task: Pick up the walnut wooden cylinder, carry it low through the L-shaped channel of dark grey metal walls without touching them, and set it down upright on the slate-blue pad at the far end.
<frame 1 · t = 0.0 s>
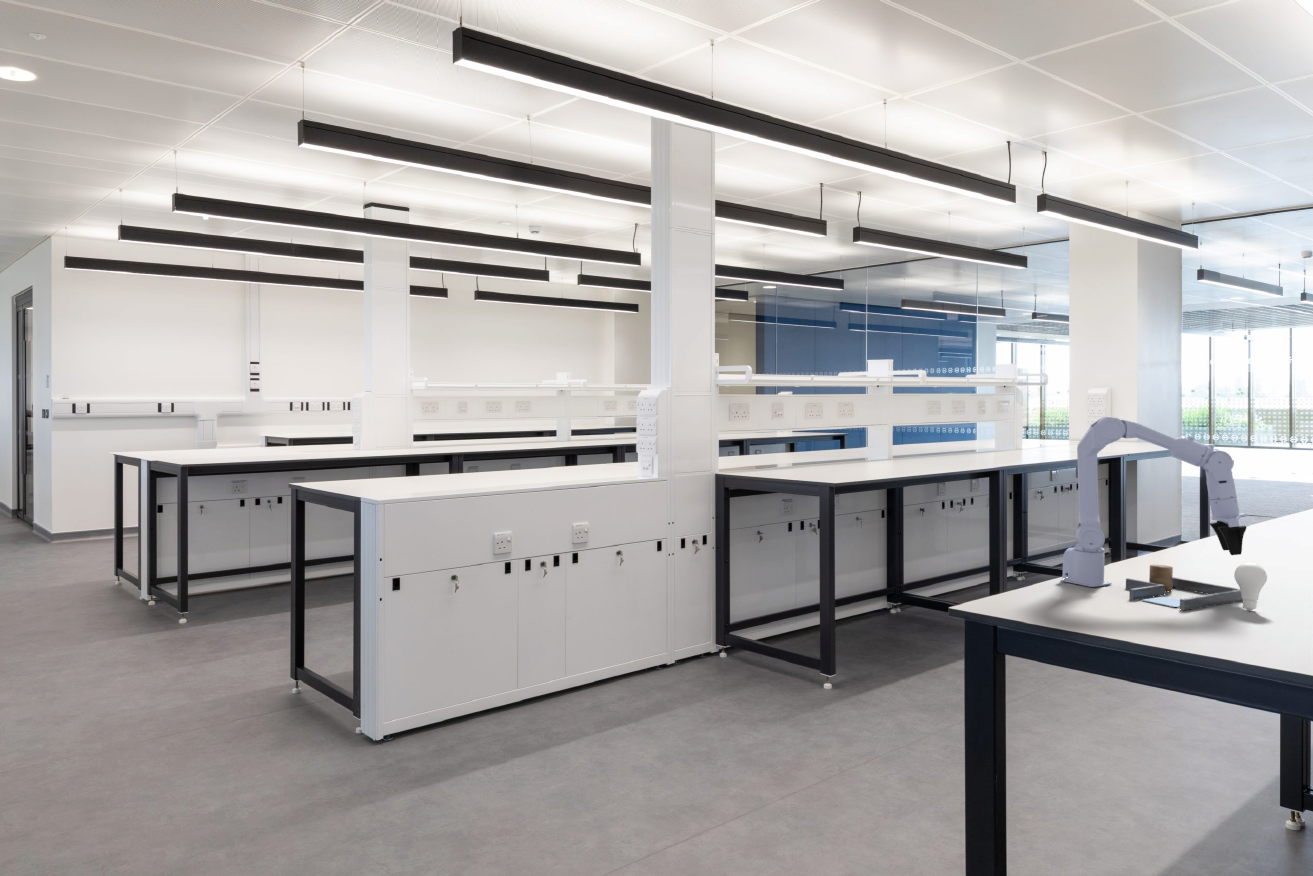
hand: (1232, 552, 210), 11 cm above the lab bench, tool pointing down, fingers open, 7 cm apart
guide walls: (1167, 596, 208), on the lab bench
lightbulb: (1249, 611, 194), on the lab bench
walnut cylinder: (1160, 589, 216), on the lab bench
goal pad: (1168, 602, 201), on the lab bench
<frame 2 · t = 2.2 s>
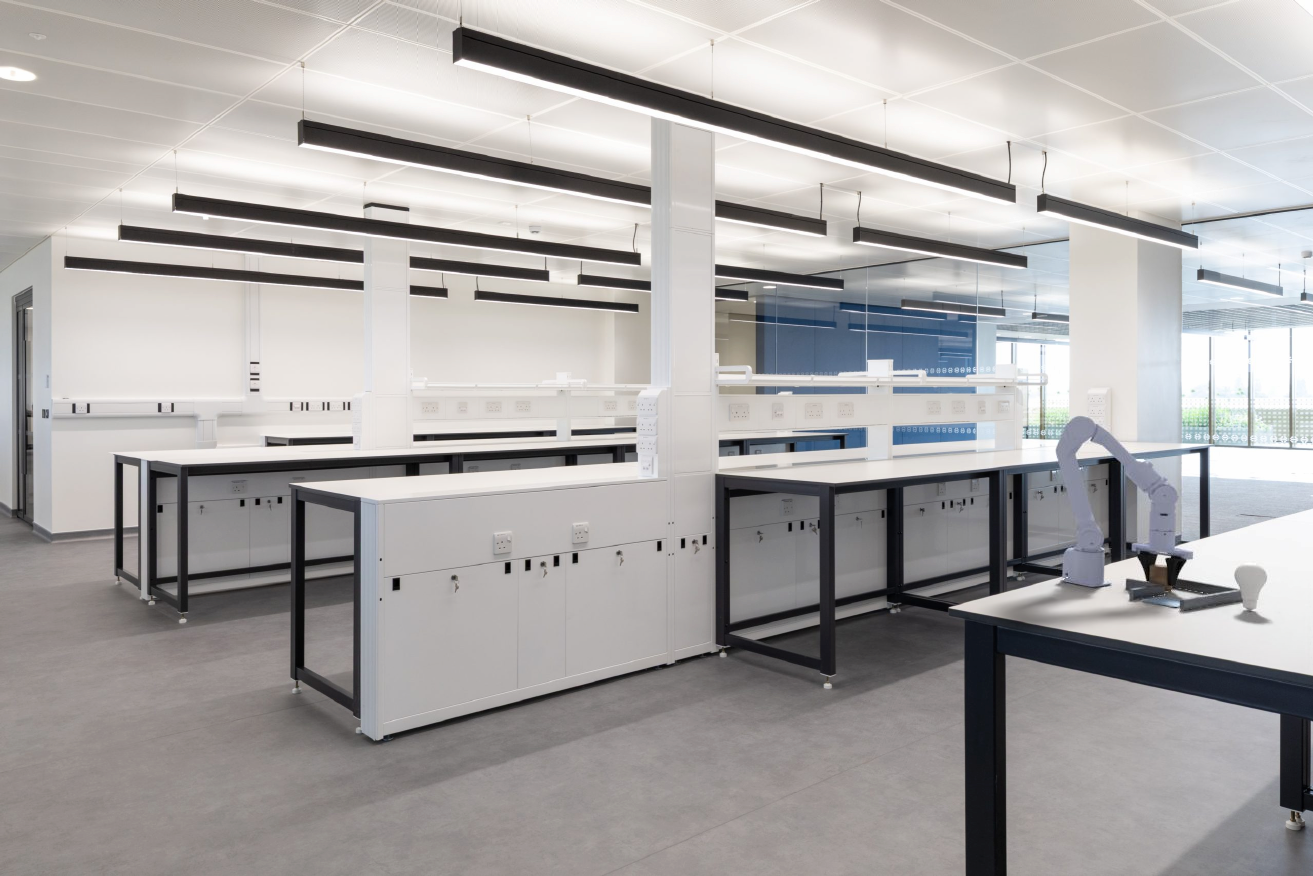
hand: (1160, 583, 216), 2 cm above the lab bench, tool pointing down, fingers closed on walnut cylinder, 5 cm apart
walnut cylinder: (1160, 589, 216), on the lab bench, touching gripper
everything else where it was.
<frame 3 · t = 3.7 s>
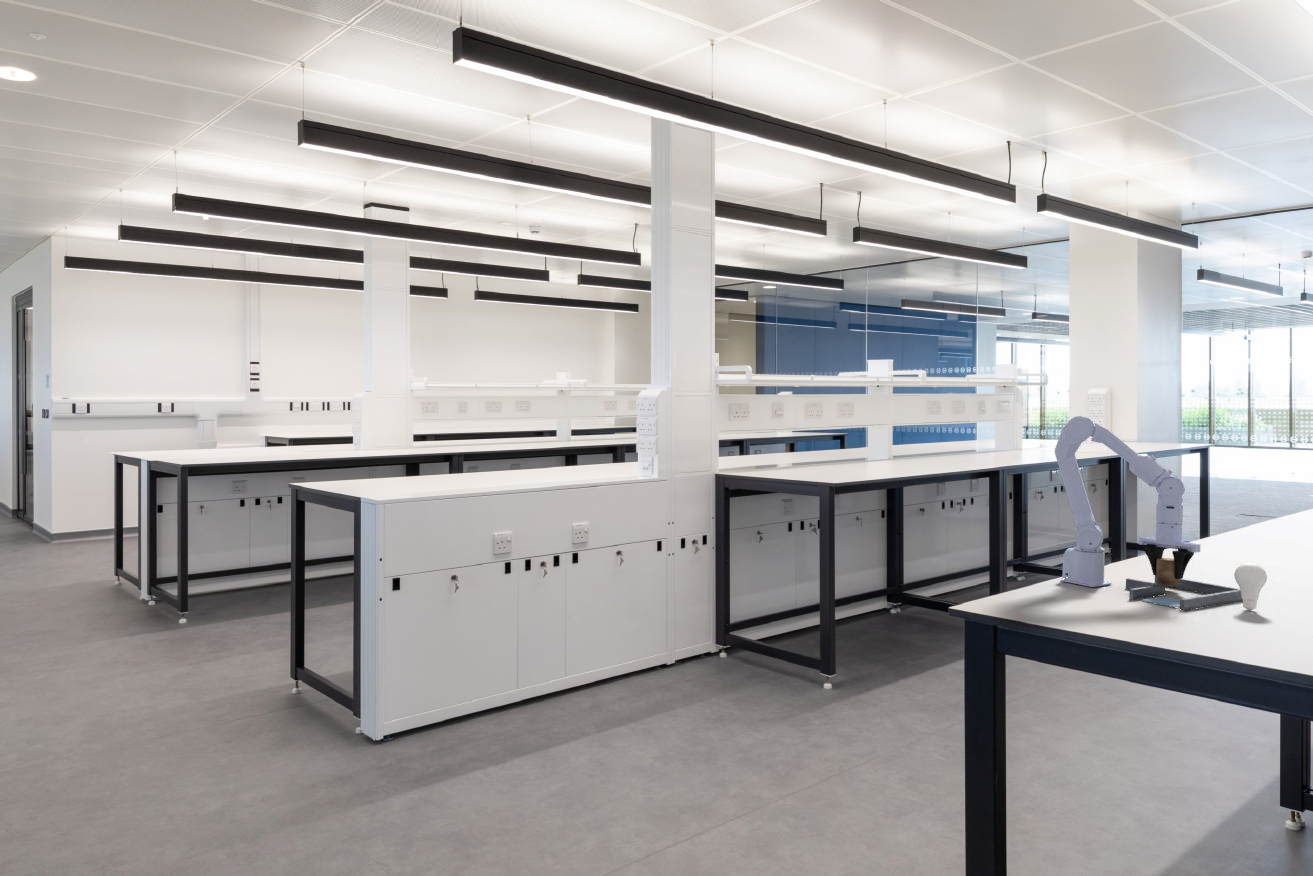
hand: (1167, 576, 214), 4 cm above the lab bench, tool pointing down, fingers closed on walnut cylinder, 5 cm apart
walnut cylinder: (1167, 583, 214), point 2 cm above the lab bench, touching gripper
everything else where it was.
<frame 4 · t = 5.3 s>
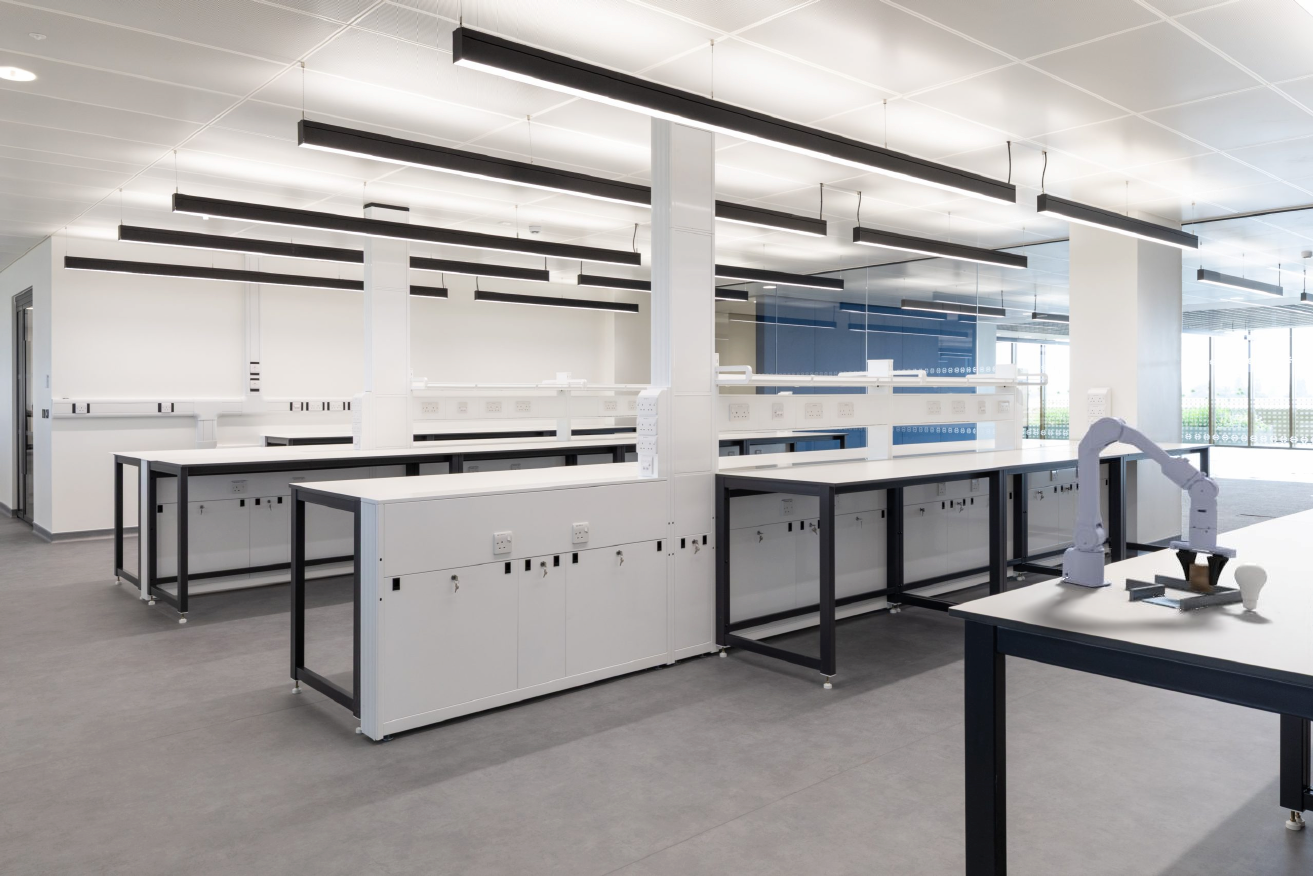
hand: (1201, 582, 207), 4 cm above the lab bench, tool pointing down, fingers closed on walnut cylinder, 5 cm apart
walnut cylinder: (1201, 589, 207), point 2 cm above the lab bench, touching gripper
everything else where it was.
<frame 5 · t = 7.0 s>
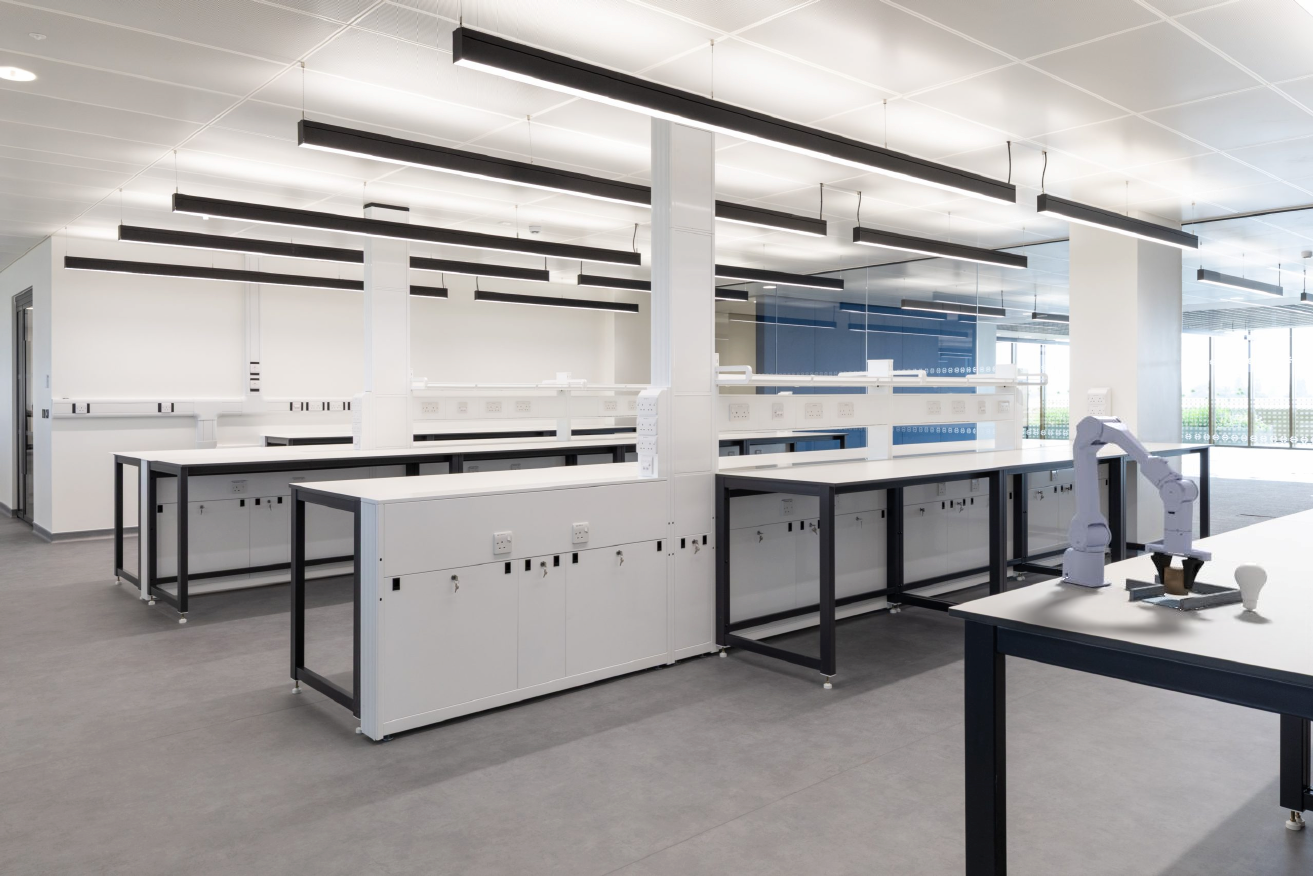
hand: (1176, 586, 202), 4 cm above the lab bench, tool pointing down, fingers closed on walnut cylinder, 5 cm apart
walnut cylinder: (1176, 593, 202), point 2 cm above the lab bench, touching gripper
everything else where it was.
when the fingers open (2 cm above the lab bench, at t = 8.6 s): walnut cylinder stays where it is, resting on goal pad.
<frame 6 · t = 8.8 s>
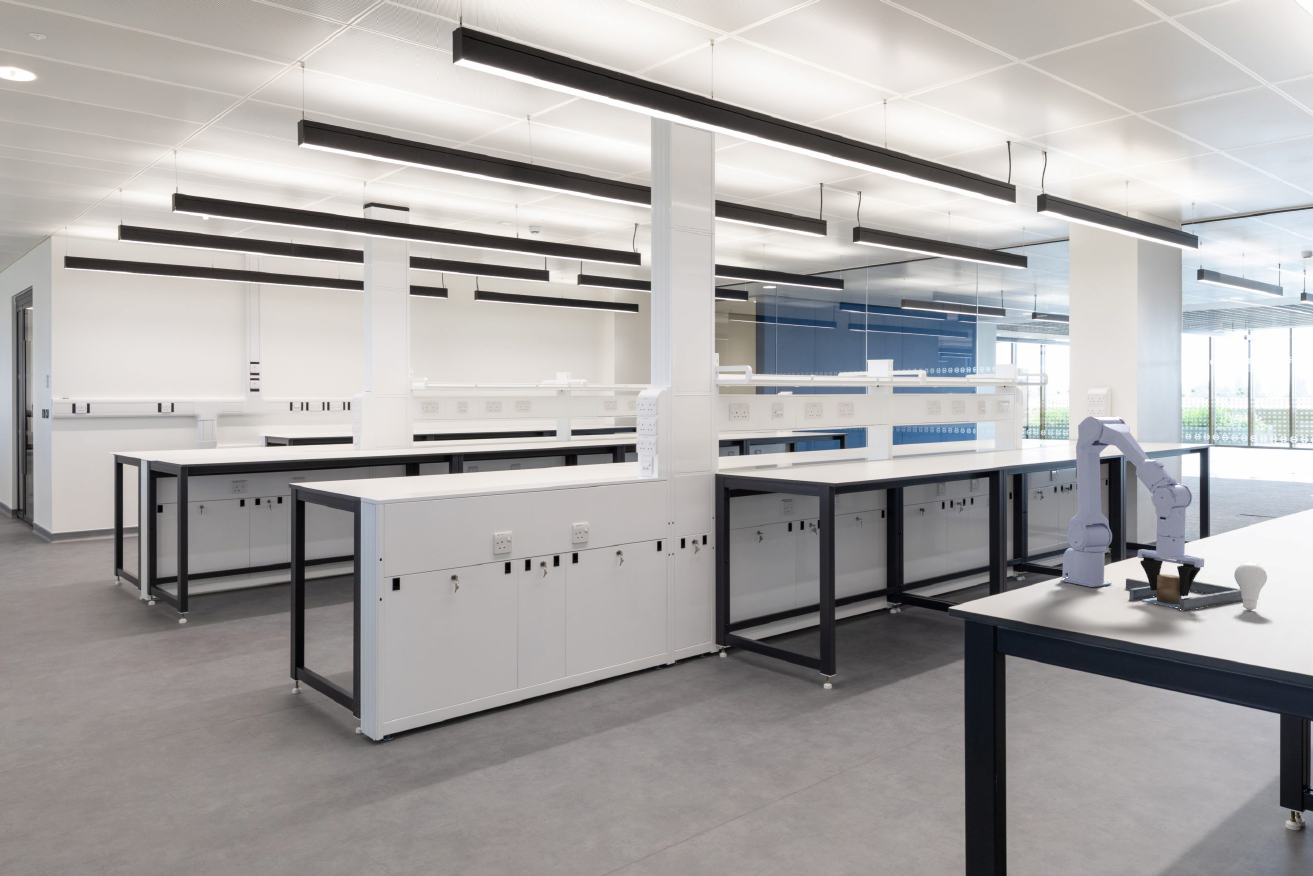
hand: (1169, 592, 201), 2 cm above the lab bench, tool pointing down, fingers open, 6 cm apart
walnut cylinder: (1168, 601, 201), resting on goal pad
everything else where it was.
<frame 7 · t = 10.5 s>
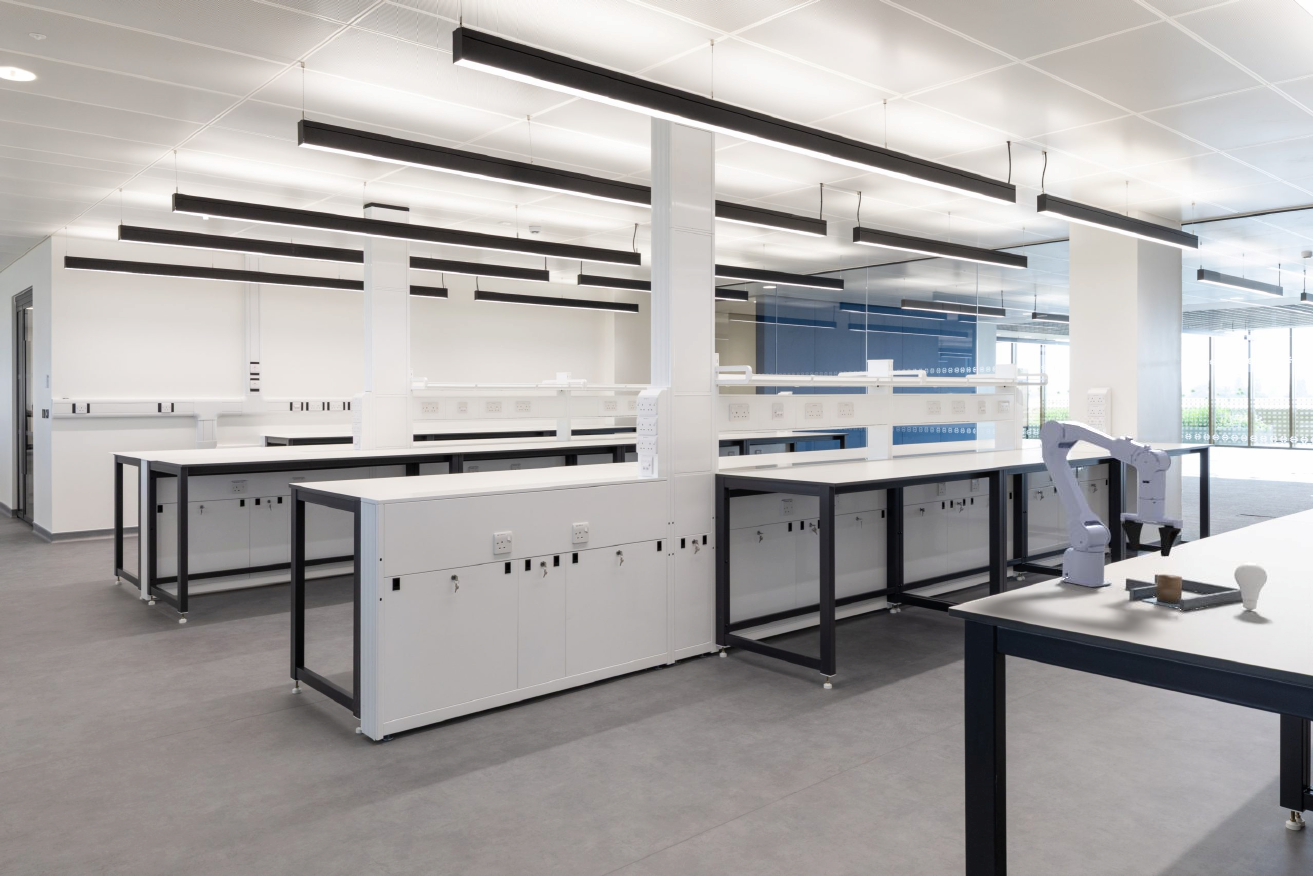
hand: (1149, 553, 209), 10 cm above the lab bench, tool pointing down, fingers open, 7 cm apart
nothing on the lab bench moved.
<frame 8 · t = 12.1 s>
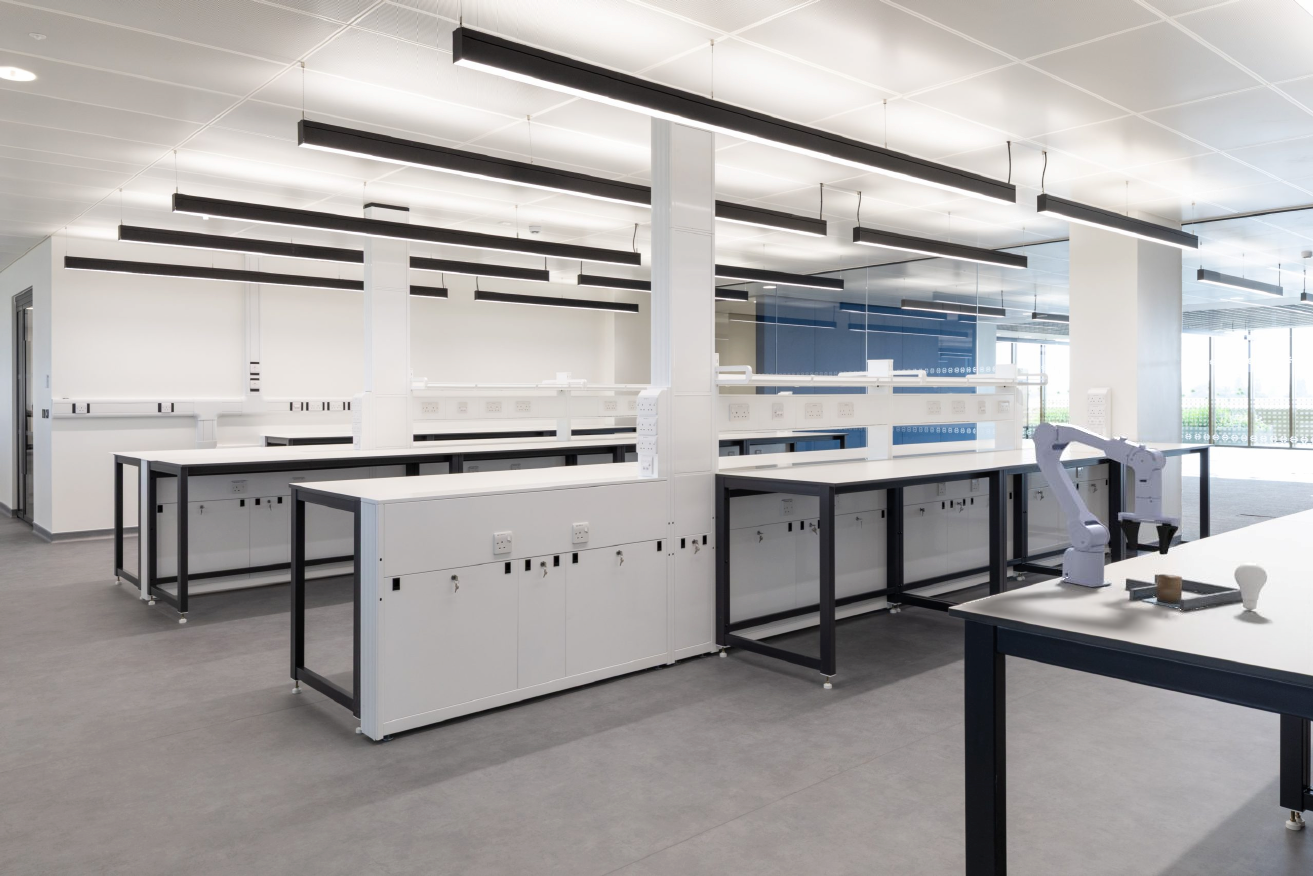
hand: (1148, 552, 211), 10 cm above the lab bench, tool pointing down, fingers open, 7 cm apart
nothing on the lab bench moved.
at the end: walnut cylinder 0.0 cm off-centre on the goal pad, point 0.3 cm above the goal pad's base; walnut cylinder tilted 0°; walnut cylinder touching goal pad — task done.
